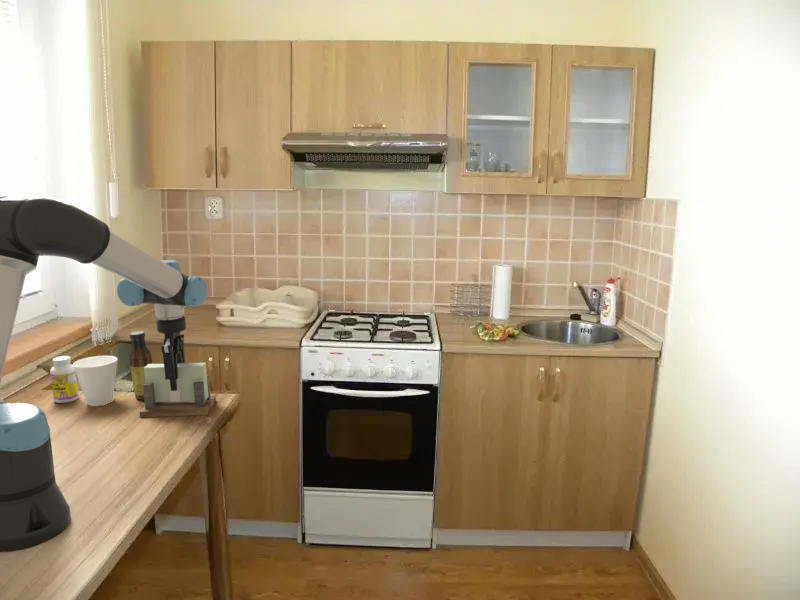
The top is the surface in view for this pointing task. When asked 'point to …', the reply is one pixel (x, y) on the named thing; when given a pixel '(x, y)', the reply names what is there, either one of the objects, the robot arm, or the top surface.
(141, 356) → the sauce bottle
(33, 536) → the robot arm
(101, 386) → the cup
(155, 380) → the door panel
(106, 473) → the top surface
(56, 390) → the supplement bottle
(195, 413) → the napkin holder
